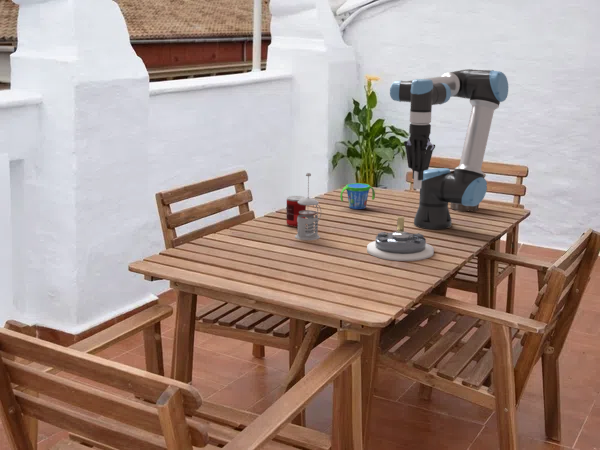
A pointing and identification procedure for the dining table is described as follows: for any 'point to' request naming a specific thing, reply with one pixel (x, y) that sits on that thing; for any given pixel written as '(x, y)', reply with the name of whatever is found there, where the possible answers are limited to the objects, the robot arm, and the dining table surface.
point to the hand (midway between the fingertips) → (417, 188)
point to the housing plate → (400, 257)
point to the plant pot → (462, 207)
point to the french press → (309, 232)
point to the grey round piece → (400, 240)
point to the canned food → (294, 210)
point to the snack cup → (357, 195)
